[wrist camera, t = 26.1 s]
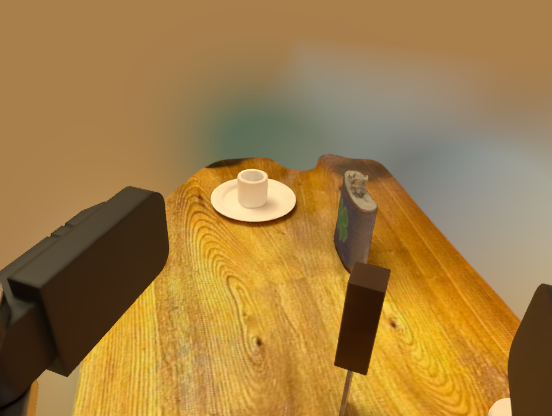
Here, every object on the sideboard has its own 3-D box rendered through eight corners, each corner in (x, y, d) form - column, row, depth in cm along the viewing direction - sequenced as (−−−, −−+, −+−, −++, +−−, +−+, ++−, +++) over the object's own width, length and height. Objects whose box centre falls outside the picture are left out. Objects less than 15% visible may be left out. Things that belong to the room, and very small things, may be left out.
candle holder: (269, 175, 72) (270, 150, 70) (311, 212, 64) (314, 185, 61) (197, 192, 67) (196, 165, 65) (233, 235, 58) (233, 206, 56)
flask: (368, 275, 53) (383, 195, 47) (343, 276, 52) (355, 195, 47) (351, 229, 61) (362, 155, 55) (329, 229, 60) (338, 155, 55)
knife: (323, 426, 37) (346, 285, 29) (332, 395, 39) (356, 257, 31) (352, 436, 36) (385, 295, 28) (359, 404, 39) (391, 266, 31)
